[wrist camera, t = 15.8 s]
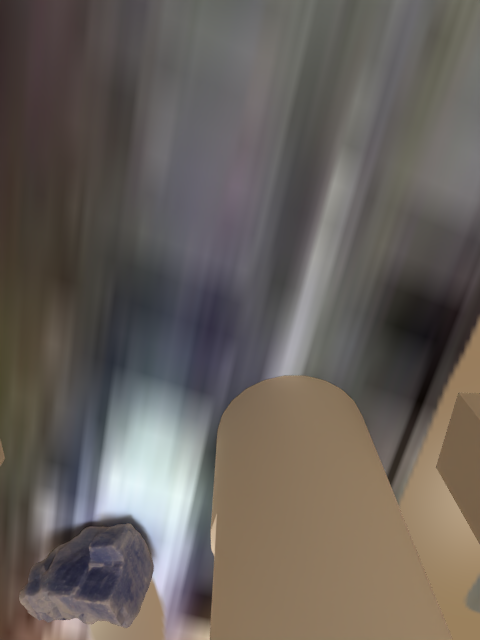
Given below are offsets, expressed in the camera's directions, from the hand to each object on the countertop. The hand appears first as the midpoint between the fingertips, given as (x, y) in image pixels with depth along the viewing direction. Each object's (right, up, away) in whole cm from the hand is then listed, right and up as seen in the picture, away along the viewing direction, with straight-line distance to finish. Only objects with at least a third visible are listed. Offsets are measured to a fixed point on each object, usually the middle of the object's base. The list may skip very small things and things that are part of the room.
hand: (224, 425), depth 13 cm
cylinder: (+6, -11, +40) cm, 42 cm away
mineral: (-18, -26, +47) cm, 57 cm away
